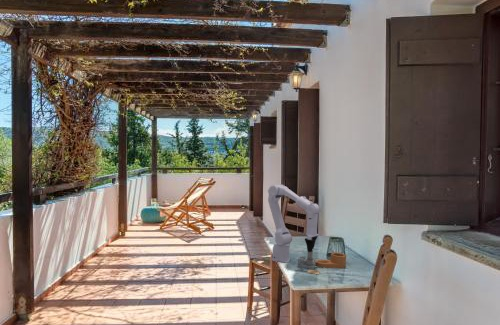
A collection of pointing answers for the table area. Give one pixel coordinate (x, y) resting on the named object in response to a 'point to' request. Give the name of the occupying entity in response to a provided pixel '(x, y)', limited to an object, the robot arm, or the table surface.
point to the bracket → (333, 261)
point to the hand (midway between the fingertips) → (310, 250)
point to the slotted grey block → (309, 258)
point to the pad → (313, 272)
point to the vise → (303, 263)
